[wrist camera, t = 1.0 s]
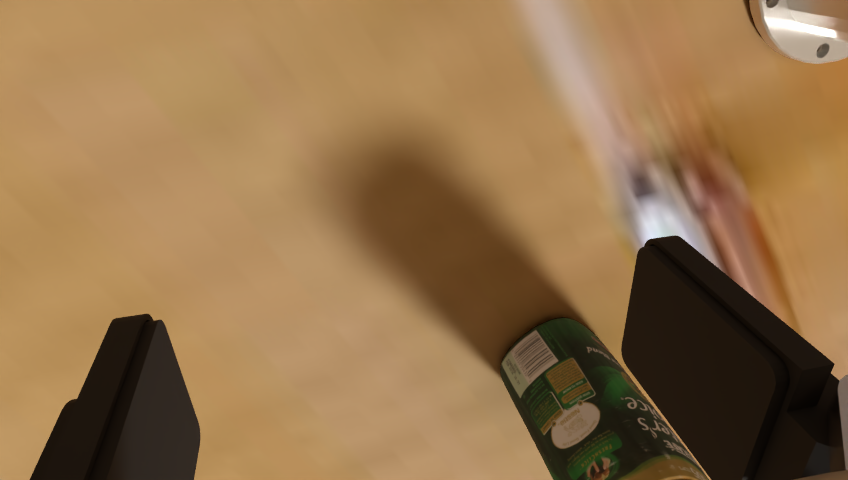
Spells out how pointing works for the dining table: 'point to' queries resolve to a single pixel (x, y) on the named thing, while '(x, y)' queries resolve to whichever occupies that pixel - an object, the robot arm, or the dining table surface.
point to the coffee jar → (589, 410)
